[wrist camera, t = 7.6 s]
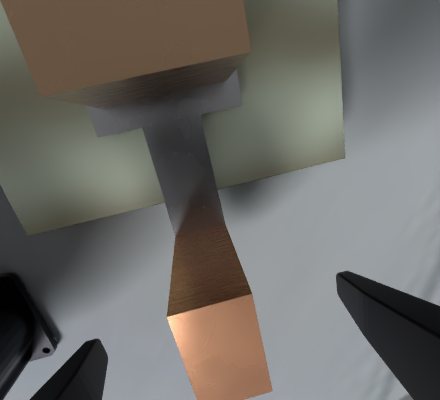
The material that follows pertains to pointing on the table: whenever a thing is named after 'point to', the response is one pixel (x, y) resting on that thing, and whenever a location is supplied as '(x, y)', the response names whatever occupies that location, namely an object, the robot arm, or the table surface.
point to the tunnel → (212, 122)
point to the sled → (164, 148)
